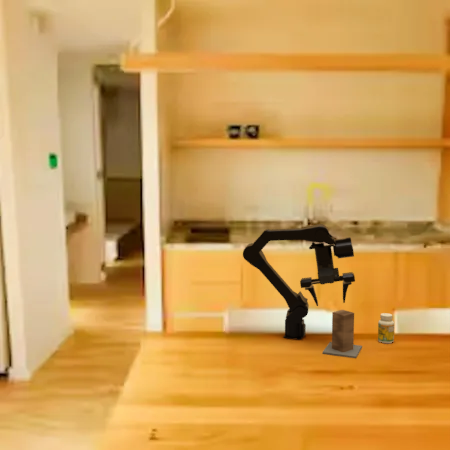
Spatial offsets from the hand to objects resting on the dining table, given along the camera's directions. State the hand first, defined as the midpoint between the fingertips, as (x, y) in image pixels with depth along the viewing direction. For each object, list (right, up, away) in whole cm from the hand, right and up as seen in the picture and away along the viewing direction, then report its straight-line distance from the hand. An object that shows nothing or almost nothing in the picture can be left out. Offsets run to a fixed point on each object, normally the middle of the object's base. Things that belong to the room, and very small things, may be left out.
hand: (330, 304), depth 206 cm
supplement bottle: (+19, -13, 0) cm, 23 cm away
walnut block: (+2, -14, -9) cm, 17 cm away
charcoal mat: (+2, -14, -9) cm, 17 cm away
